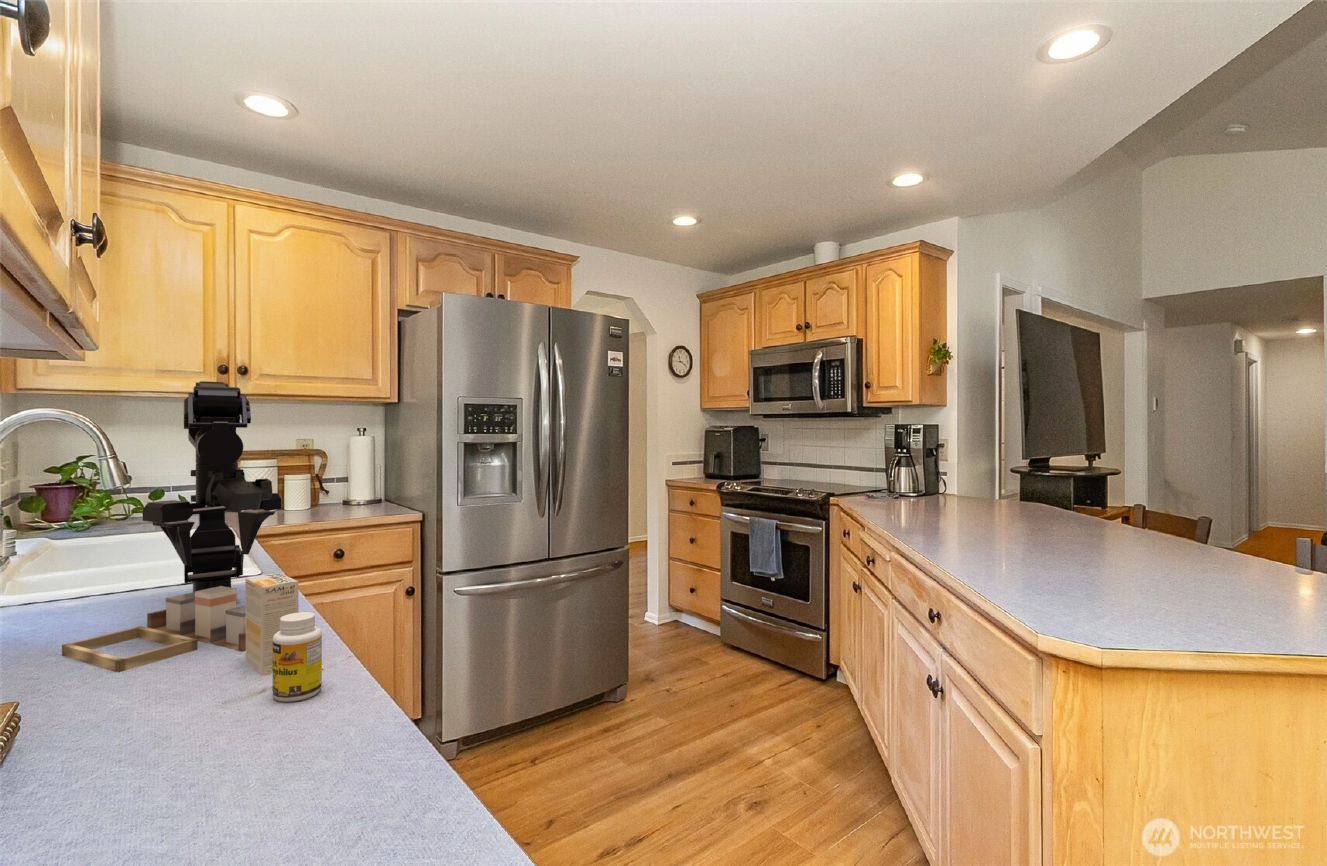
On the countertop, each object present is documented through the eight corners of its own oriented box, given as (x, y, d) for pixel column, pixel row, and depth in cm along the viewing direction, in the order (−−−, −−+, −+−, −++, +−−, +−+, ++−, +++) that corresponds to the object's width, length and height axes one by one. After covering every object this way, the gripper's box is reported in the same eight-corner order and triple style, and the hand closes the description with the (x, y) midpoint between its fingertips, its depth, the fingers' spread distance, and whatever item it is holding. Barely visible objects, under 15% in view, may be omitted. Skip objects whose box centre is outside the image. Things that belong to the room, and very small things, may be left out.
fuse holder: (147, 634, 107) (147, 613, 107) (192, 622, 113) (192, 603, 113) (242, 657, 96) (242, 634, 96) (287, 643, 103) (287, 621, 103)
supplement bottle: (261, 700, 82) (261, 620, 82) (298, 683, 87) (298, 608, 87) (296, 706, 80) (296, 624, 80) (331, 688, 85) (331, 612, 85)
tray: (62, 661, 94) (61, 644, 94) (140, 641, 103) (140, 625, 103) (118, 679, 88) (118, 661, 88) (197, 655, 97) (197, 639, 97)
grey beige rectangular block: (165, 627, 107) (165, 598, 107) (192, 621, 111) (192, 592, 111) (180, 631, 105) (180, 600, 105) (206, 624, 109) (206, 595, 109)
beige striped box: (194, 634, 104) (194, 591, 104) (221, 627, 108) (221, 585, 108) (210, 638, 102) (210, 594, 102) (236, 630, 106) (236, 588, 106)
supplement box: (300, 673, 91) (300, 580, 91) (261, 683, 87) (261, 586, 87) (281, 658, 96) (281, 571, 96) (244, 667, 93) (244, 576, 93)
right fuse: (225, 641, 100) (225, 609, 100) (251, 634, 104) (251, 603, 104) (242, 645, 99) (242, 613, 99) (268, 637, 103) (268, 606, 102)
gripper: (184, 468, 93) (185, 576, 93) (303, 462, 110) (303, 553, 110) (140, 466, 98) (140, 568, 98) (261, 460, 115) (261, 548, 115)
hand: (217, 559), depth 105 cm, fingers open, 9 cm apart
